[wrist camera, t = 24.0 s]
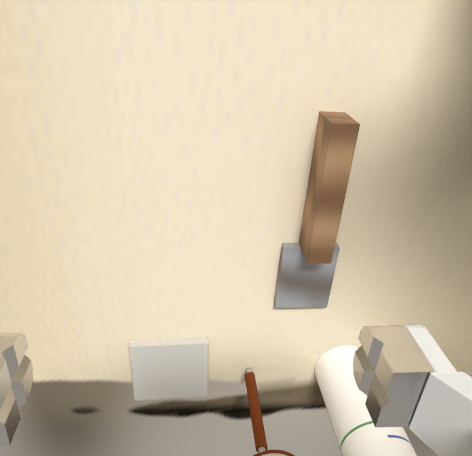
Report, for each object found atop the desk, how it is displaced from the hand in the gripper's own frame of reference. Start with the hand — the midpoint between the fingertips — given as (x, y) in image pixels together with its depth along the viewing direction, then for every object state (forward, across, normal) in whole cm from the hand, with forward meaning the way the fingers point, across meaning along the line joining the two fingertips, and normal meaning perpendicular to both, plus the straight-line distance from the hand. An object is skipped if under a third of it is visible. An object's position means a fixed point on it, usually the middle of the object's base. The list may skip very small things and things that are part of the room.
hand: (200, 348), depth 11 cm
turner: (+31, -13, +12) cm, 36 cm away
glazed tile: (+31, +2, +29) cm, 42 cm away
